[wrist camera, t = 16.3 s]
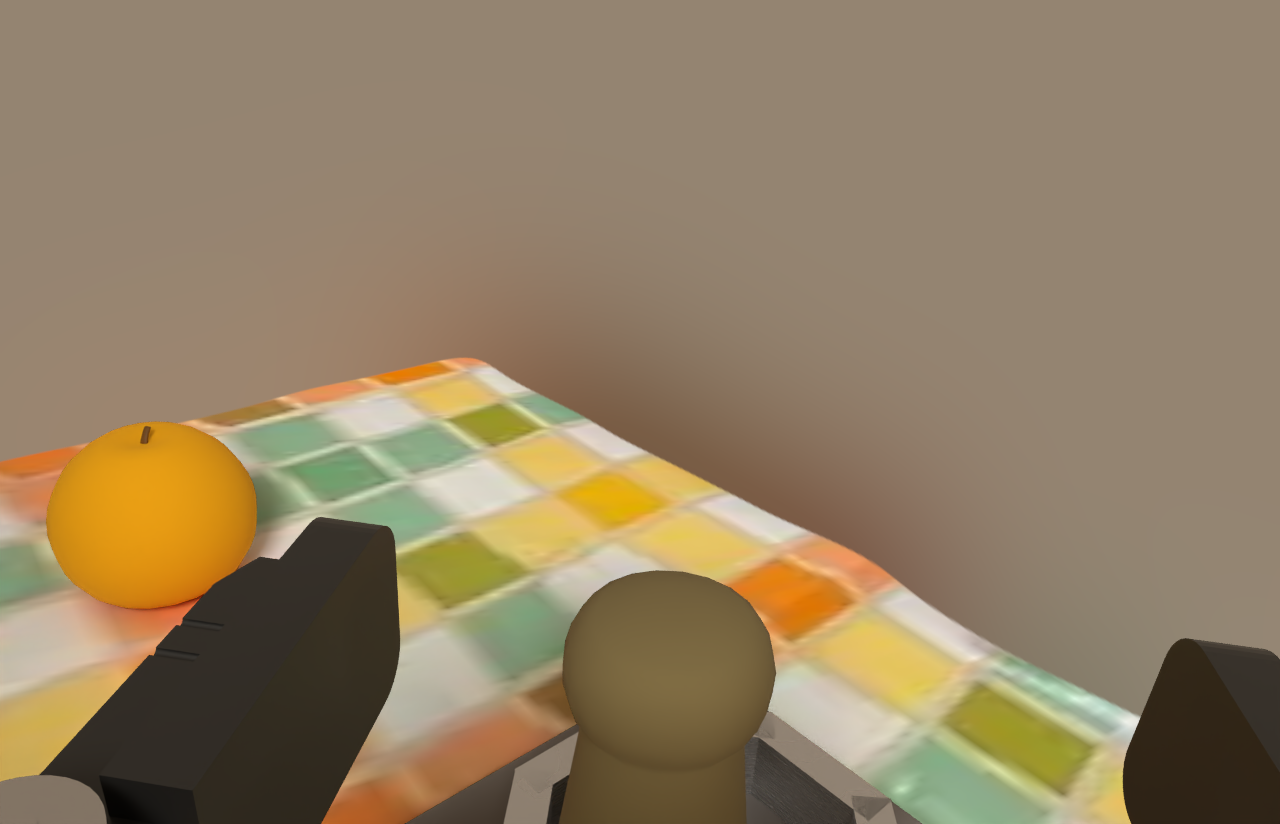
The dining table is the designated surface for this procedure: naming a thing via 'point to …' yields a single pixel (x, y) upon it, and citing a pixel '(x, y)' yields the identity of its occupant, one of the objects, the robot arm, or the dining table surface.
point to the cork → (664, 701)
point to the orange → (151, 515)
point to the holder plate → (481, 808)
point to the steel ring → (774, 772)
